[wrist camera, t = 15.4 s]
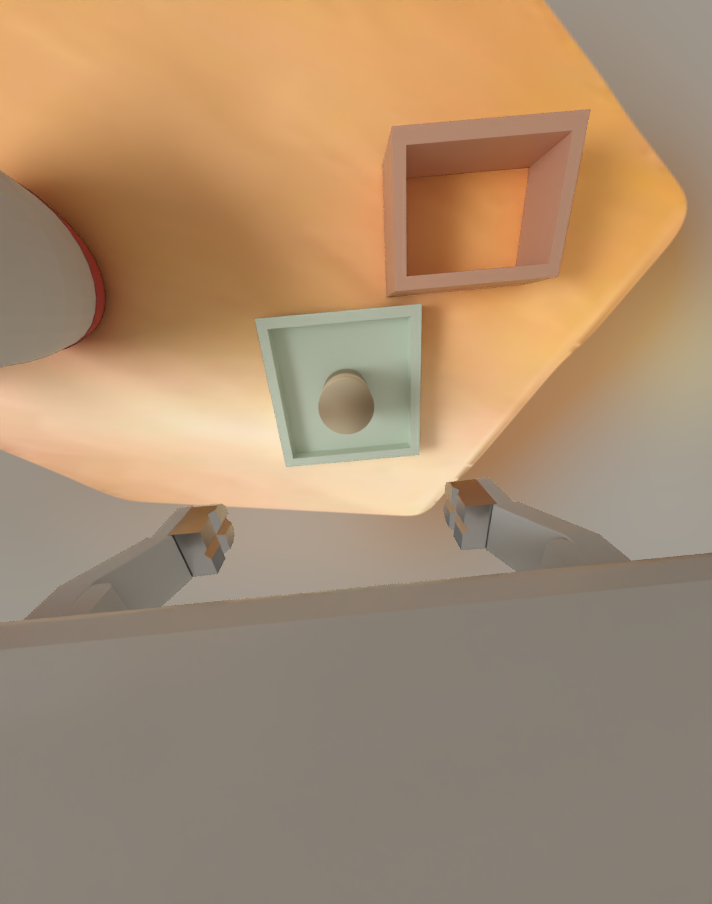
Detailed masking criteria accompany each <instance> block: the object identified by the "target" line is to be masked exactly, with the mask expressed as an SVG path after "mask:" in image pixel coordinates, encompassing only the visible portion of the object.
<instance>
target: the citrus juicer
mask: <svg viewBox="0 0 712 904" xmlns="http://www.w3.org/2000/svg"><path fill="white" fill-rule="evenodd" d="M104 308H105V290H104V283H103V280H102V277H101V273H100V270H99V268H98V266H97V263H96V261H95V259H94V257H93V255H92V254H91V252H90V250H89V249H88V247H87V246H86V244H85V243H84V241H83V240H82V239H81V238H80V237H79V235H78V234H77V233H76V232H75V231H74V230H73V228H72V227H71V226H70V225H69V224H68V223H67V222H66V221H65V220H64V219H62V218H61V217H60V216H59V215H58V214H57V213H56V212H55V211H54V210H52V209H51V208H50V207H49V206H48V205H47V204H46V203H45V202H44V201H42V200H41V199H40V198H39V197H38V196H37V195H35V194H34V193H32V192H31V191H29V190H28V189H26V188H25V187H23V186H22V185H20V184H19V183H17V182H16V181H15V180H13V179H12V178H11V177H9V176H8V175H6V174H5V173H3V172H2V171H0V367H4V366H10V365H16V364H21V363H26V362H30V361H34V360H37V359H40V358H43V357H46V356H49V355H51V354H53V353H56V352H58V351H60V350H62V349H67V348H69V347H71V346H73V345H75V344H77V343H79V342H80V341H81V340H83V339H84V338H85V337H86V336H87V335H89V334H90V333H91V332H92V331H93V330H94V329H95V328H96V327H97V325H98V324H99V322H100V321H101V318H102V315H103V312H104Z"/></svg>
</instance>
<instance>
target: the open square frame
mask: <svg viewBox="0 0 712 904" xmlns="http://www.w3.org/2000/svg"><path fill="white" fill-rule="evenodd" d="M589 114H590V109H588V110H576V111H565V112H553V113H542V114H530V115H519V116H507V117H496V118H484V119H473V120H461V121H450V122H438V123H427V124H415V125H404V126H392V128H391V132H390V136H389V140H388V144H387V148H386V152H385V156H384V160H383V164H382V168H383V201H384V233H385V265H386V297H392V296H403V295H414V294H425V293H436V292H447V291H458V290H469V289H481V288H492V287H503V286H514V285H524V284H528V283H532V282H537V281H541V280H545V279H550V278H554V277H558V275H559V269H560V264H561V259H562V254H563V249H564V244H565V238H566V233H567V228H568V223H569V218H570V213H571V207H572V202H573V197H574V192H575V187H576V182H577V176H578V171H579V166H580V161H581V156H582V151H583V145H584V140H585V135H586V130H587V125H588V120H589ZM527 167H530V168H529V175H528V182H527V190H526V197H525V204H524V212H523V219H522V226H521V234H520V241H519V248H518V255H517V263H516V267H506V268H495V269H483V270H472V271H461V272H450V273H439V274H428V275H417V276H407V256H406V178H413V177H425V176H436V175H447V174H459V173H470V172H482V171H493V170H504V169H516V168H527Z"/></svg>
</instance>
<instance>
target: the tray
mask: <svg viewBox="0 0 712 904" xmlns="http://www.w3.org/2000/svg"><path fill="white" fill-rule="evenodd" d="M421 321H422V304H412V305H401V306H390V307H379V308H368V309H357V310H346V311H335V312H324V313H313V314H302V315H291V316H279V317H268V318H257V319H255V324H256V329H257V333H258V338H259V343H260V347H261V352H262V357H263V361H264V366H265V371H266V375H267V380H268V385H269V389H270V394H271V399H272V403H273V408H274V413H275V417H276V422H277V427H278V432H279V436H280V441H281V446H282V450H283V455H284V460H285V464H286V467H293V466H304V465H315V464H325V463H336V462H347V461H358V460H368V459H379V458H390V457H401V456H411V455H419V442H420V382H421ZM340 369H351V370H354V371H356V372H358V373H359V374H360V375H361V376H362V377H363V378H364V379H365V381H366V384H367V386H368V388H369V391H370V393H371V395H372V398H373V401H374V413H373V417H372V419H371V421H370V422H369V424H368V425H367V426H366V427H365V428H364V429H362V430H361V431H359V432H356V433H353V434H340V433H336V432H334V431H332V430H330V429H329V428H328V427H327V426H326V425H325V424H324V423H323V421H322V420H321V418H320V415H319V410H318V404H319V399H320V396H321V393H322V390H323V387H324V384H325V382H326V380H327V378H328V377H329V376H330V375H331V374H332V373H333V372H335V371H337V370H340Z"/></svg>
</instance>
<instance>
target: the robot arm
mask: <svg viewBox="0 0 712 904" xmlns="http://www.w3.org/2000/svg"><path fill="white" fill-rule="evenodd" d="M445 493H446V495H447V497H448V498H447V499H446V501H445V502H444V514H445V518H446V522H447V524H448V526H449V528H451V529H453V530H454V537H455V540H456V541H457V543H458V545H459V547H460V549H461V550H469V549H485V548H486V550H487V551H489V552H490V553H492V554H493V555H494V556H496V557H497V558H498V559H500V560H501V561H503V562H504V563H505V564H507V565H508V566H510V567H511V568H512V569H514V570H515V571H516V572H511V573H501V574H491V575H481V576H471V577H462V578H461V577H460V578H450V579H440V580H430V581H419V582H409V583H399V584H388V585H378V586H367V587H357V588H348V589H337V590H327V591H318V592H307V593H298V594H288V595H278V596H267V597H256V598H246V599H236V600H226V601H215V602H205V603H194V604H185V605H174V606H164V607H162V606H163V605H164V603H166V602H167V601H168V600H169V599H170V598H171V597H172V596H174V595H175V594H176V593H177V592H178V591H179V590H180V589H181V588H182V587H183V586H184V585H186V584H187V583H188V582H189V581H190V580H191V579H192V577H196V576H204V575H211V574H218V572H219V570H220V568H221V566H222V564H223V562H224V560H225V556H224V553H225V552H227V551H228V550H229V549H230V548H231V546H232V543H233V540H234V528H233V526H232V523H231V522H230V521H228V520H227V519H226V517H227V515H228V511H227V509H226V506H225V505H223V504H211V505H198V506H186V507H180V508H177V510H176V511H175V512H174V513H173V514H172V515H171V516H170V517H169V519H168V520H167V521H166V522H165V523H164V524H163V525H162V526H161V527H160V528H159V529H158V531H157V532H156V533H155V534H154V535H153V536H152V537H150V538H146V539H144V540H142V541H140V542H138V543H137V544H135V545H133V546H131V547H130V548H128V549H126V550H124V551H122V552H120V553H119V554H117V555H115V556H113V557H111V558H110V559H108V560H106V561H104V562H102V563H101V564H99V565H97V566H95V567H93V568H92V569H90V570H88V571H86V572H84V573H83V574H81V575H79V576H77V577H75V578H74V579H72V580H70V581H68V582H67V583H65V584H63V585H61V586H59V587H58V588H57V589H56V590H55V591H54V592H53V593H52V594H51V595H50V596H48V597H47V599H45V600H44V601H43V602H42V603H41V604H40V605H39V606H38V607H37V608H36V609H34V610H33V611H32V612H31V613H30V614H29V615H28V616H27V617H26V618H25V619H24V620H20V621H9V622H0V904H712V553H705V554H695V555H684V556H674V557H665V558H654V559H643V560H633V561H631V560H630V559H629V558H628V557H626V556H625V555H624V554H623V553H622V552H620V551H619V550H618V549H617V548H615V547H614V546H613V545H612V544H611V543H609V542H608V541H607V540H606V539H604V538H603V537H602V536H601V535H600V534H597V533H595V532H592V531H590V530H587V529H585V528H582V527H580V526H577V525H575V524H572V523H570V522H567V521H565V520H562V519H560V518H557V517H555V516H552V515H550V514H547V513H545V512H542V511H540V510H537V509H535V508H532V507H530V506H527V505H525V504H522V503H519V502H513V501H512V500H511V499H510V498H509V497H508V496H507V495H506V494H505V493H504V492H503V491H502V490H501V489H500V488H499V487H498V486H497V485H496V484H495V483H494V481H492V479H490V478H488V477H485V478H478V479H472V480H463V481H454V482H446V485H445Z"/></svg>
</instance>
